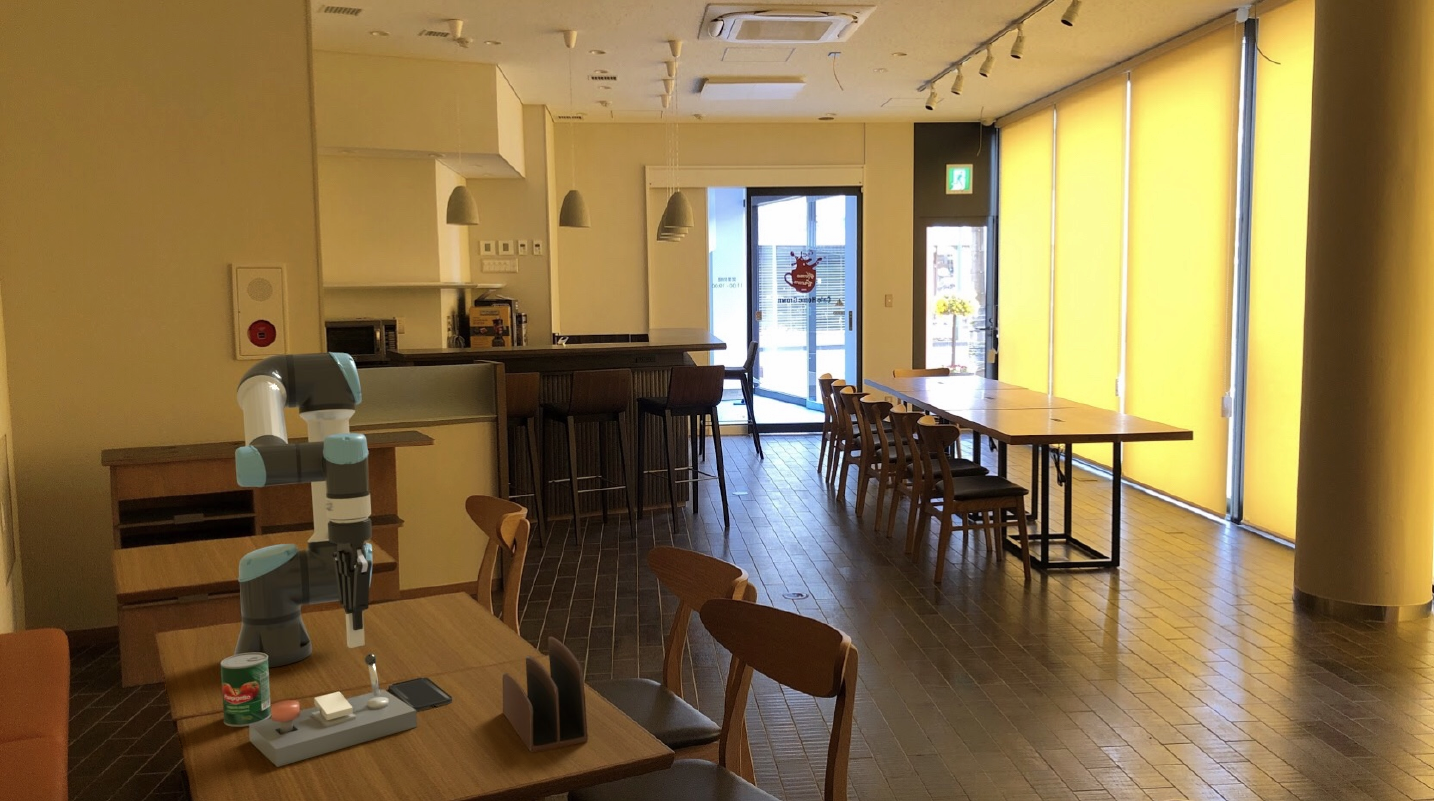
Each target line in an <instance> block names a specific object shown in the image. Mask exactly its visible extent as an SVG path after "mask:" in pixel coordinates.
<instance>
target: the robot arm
mask: <svg viewBox="0 0 1434 801" xmlns="http://www.w3.org/2000/svg"><path fill="white" fill-rule="evenodd" d="M354 360H355V359H353V357H352V356H351V355H350V354H349V353H344V352H331V351H328V352H316V353H315V352H313V353H312V352H309V353H293V354H292V353H291V354H290V353H289V354H287V353H286V354H285V353H283V354H276V355H272V356H268V357H266V358H264V359H262V360H260V361H258V362H256V363H255V364H254V365H252V366H251V367H249V369H248V370H246V372H245V373H244V374H243V375H242V376H241V378H240V379H239V382H238V384H237V388H236V401H237V404H238V406H239V408H240V409H241V410H242V412H243V426H244V427H243V428H244V439H245V440H244V442H245V446H239V447H238V448H236V450H235V452H234V454H235V456H234V457H235V458H234V459H235V471H236V473H235V474H236V483H237V485H238V486H240V487H242V488H245V487H246V488H248V487H250V488H253V487H258V488H263V487H269V486H270V487H271V486H278V485H291V484H306V483H311V484H310V485H311V496H312V497H311V498H312V501H311V502H312V512H313V513H312V514H313V528H314V529H313V530H314V532H313V534H312V535H311V537H309V539H308V540H307V549H303V550H299V547H298V546H297V545H296V544H295V543H280V544H274V545H269V546H264V547H261V548H258V549H255V550H253V551H250V552H248V553H247V554H245V555H244V556H243V557H241V559H240V560H239V564H238V578H237V579H238V580H237V581H238V582H239V590H240V591H239V592H240V593H239V594H240V613H241V628H240V631H239V635H238V639H237V642H236V645H235V649H234V655H237V654H243V653H252V652H258V653H264V654H267V655H268V669H269V668H275V667H280V666H281V667H282V666H286V665H290V664H293V663H297V662H299V661H302V660H304V659H306V658H307V657H309V656H310V655H311V654H312V652H313V648H312V647H313V646H312V641H311V638H310V636H309V633H308V630H307V628H306V625H305V622H304V621H303V618H302V611H301V609H302V608H301V606H307V605H314V604H315V605H316V604H322V603H330V602H332V603H333V602H338V601H339V604H340V606H343V607H342V608H343V610H344V612H345V626H346V627H345V628H346V629H345V630H346V646H347V647H348V648H350V649H353V648H357V647H361V646H362V647H363V646H365V645H366V644H365V626H364V625H365V624H364V623H365V621H364V619H365V618H364V611H365V610H369V602H370V588H371V582H372V574H373V573H372V572H373V546H372V544H371V543H369V542H365V541H369V540H370V539H372V536H373V528H372V519H371V518H369V517H370V516H371V515H372V505H371V493H370V484H369V483H370V481H369V480H370V479H369V476H370V475H369V454H370V452H369V450H368V442H367V437H366V436H365V434H363V433H358V432H357V433H355V432H354V433H353V432H350V423H349V422H350V419H351V418H352V417H353V415H354V414H355V413H356V406H358V405H359V404H361V403H362V392H361V390H362V389H361V384H360V383H361V382H360V378H359V373H358V369H357V366H356V363H355V361H354ZM285 408H290V409H291V408H297V409H298V415H299V417H300V418H301V419H303V421H305V422H306V424H307V439H308V441H307V442H294V443H291V442H290V443H289V442H288V434H287V427H286V425H287V424H286V419H285V412H284V409H285Z"/></svg>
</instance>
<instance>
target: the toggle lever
mask: <svg viewBox="0 0 1434 801" xmlns="http://www.w3.org/2000/svg"><path fill="white" fill-rule="evenodd" d="M364 663H365V664H366V665H367V667H368V673H369V677H370V678H369V679H370V684H371V689H372V692H373V695H374V696H377V695H380V694H381V693H380V690H381V689H380V684H379V678H378V672H377V667H376V663H377V656H376V654H374V653H368V654H367V655H366V656H365V657H364Z"/></svg>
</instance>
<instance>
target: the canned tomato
mask: <svg viewBox="0 0 1434 801" xmlns="http://www.w3.org/2000/svg"><path fill="white" fill-rule="evenodd" d="M219 664H220V676H221V689H222V690H221V692H222V708H223V710H222V711H223V713H222V714H223V723H224V724H223V725H226V726H228V727H232V728H236V727H237V728H241V727H244V728H245V727H249V724H251V723H255V722H259V721H263V720H267V719H270V717H272V715H271V692H270V672H269V668H268V655H267V654H264V653H258V652H252V653H243V654H237V655H235V654H234V655H231V656H228V657H225V658H224V659H223V660H221V661H220V663H219Z"/></svg>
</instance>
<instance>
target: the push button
mask: <svg viewBox="0 0 1434 801" xmlns="http://www.w3.org/2000/svg"><path fill="white" fill-rule="evenodd" d="M270 708H271V718H272V720H273V721H277V722H280V735H282V734H285V733H289V732H293V719H295V718H297V717H299V716H300V711H301V709H300V702H299V701H298V700H294V699H292V700H291V699H288V700H287V699H286V700H282V701H281V700H280V701H278V702H275V703H273V704H272V705H270Z"/></svg>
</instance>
